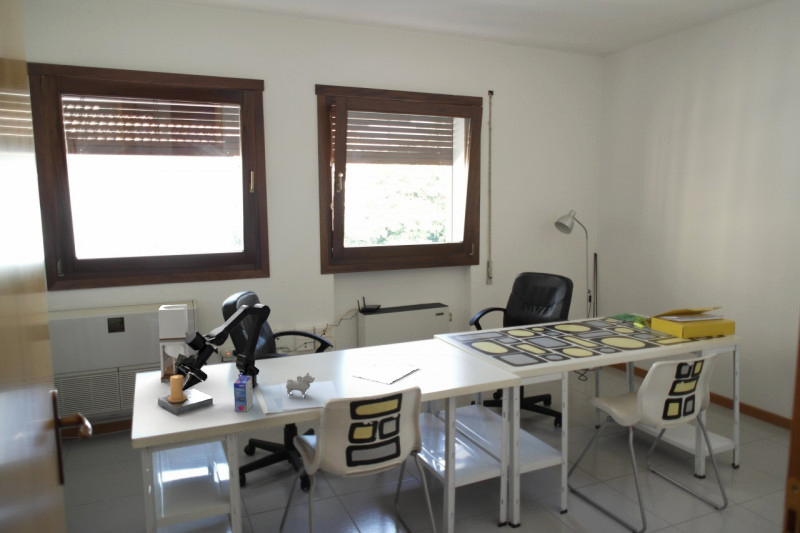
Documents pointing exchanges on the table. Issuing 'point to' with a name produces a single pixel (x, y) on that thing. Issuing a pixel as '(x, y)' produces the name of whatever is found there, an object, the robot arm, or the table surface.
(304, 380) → the grey dog figurine
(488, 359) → the table surface
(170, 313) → the white dispenser
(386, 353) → the table surface
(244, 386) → the ink cartridge box
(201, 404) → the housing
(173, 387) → the orange flanged peg
